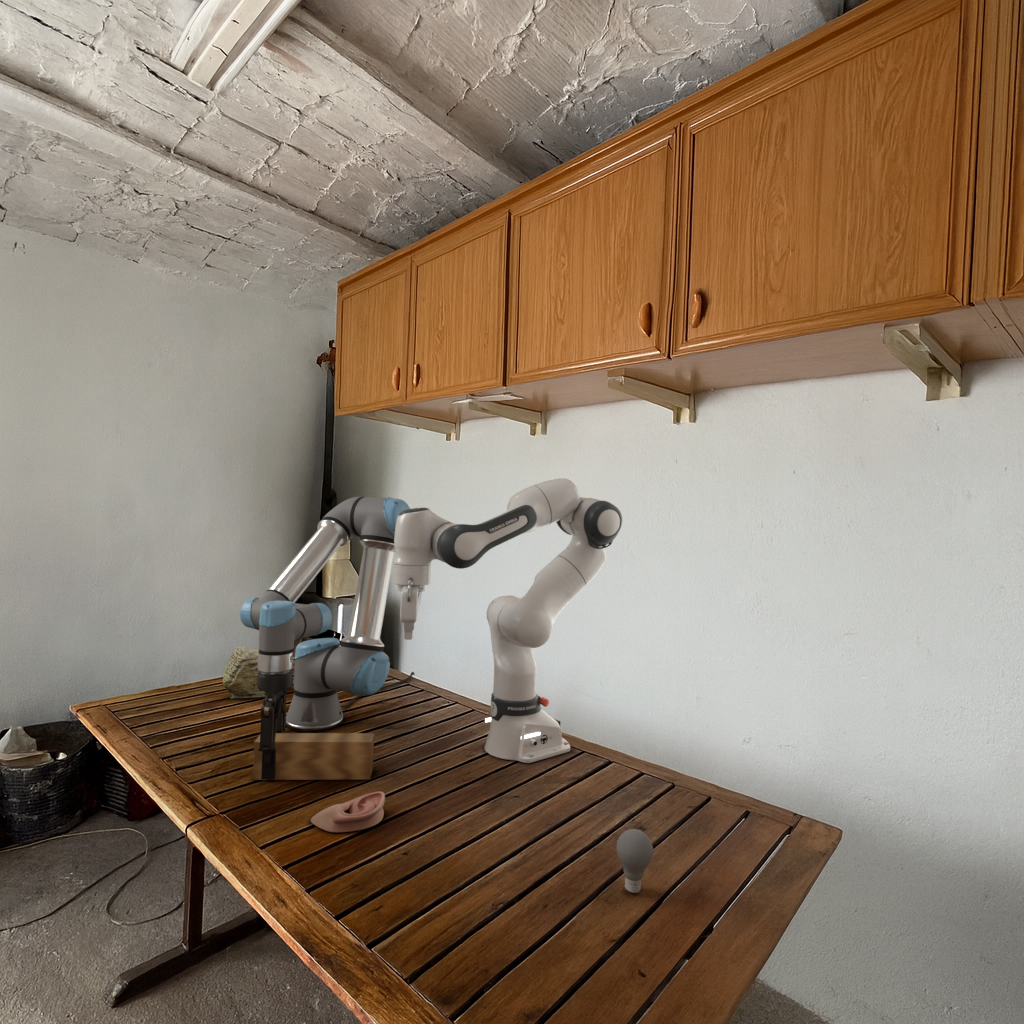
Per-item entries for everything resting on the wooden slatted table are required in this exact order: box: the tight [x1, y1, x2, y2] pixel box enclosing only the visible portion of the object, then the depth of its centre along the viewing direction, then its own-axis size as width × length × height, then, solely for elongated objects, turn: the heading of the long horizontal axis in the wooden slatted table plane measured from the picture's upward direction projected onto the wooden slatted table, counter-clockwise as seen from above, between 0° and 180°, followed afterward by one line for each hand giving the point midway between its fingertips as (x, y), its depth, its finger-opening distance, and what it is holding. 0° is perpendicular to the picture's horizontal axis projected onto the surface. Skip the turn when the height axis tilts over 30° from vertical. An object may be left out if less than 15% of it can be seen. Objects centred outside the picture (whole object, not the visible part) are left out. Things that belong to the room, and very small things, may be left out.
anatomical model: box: [310, 790, 386, 833], centre depth 125 cm, size 13×4×12 cm
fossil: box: [222, 646, 266, 699], centre depth 198 cm, size 9×18×15 cm, turn 132°
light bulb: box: [615, 828, 654, 894], centre depth 106 cm, size 6×6×10 cm
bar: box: [252, 732, 375, 781], centre depth 144 cm, size 26×5×9 cm, turn 96°
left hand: (271, 772), depth 143 cm, fingers closed on bar, 5 cm apart
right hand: (409, 634), depth 150 cm, fingers open, 8 cm apart
